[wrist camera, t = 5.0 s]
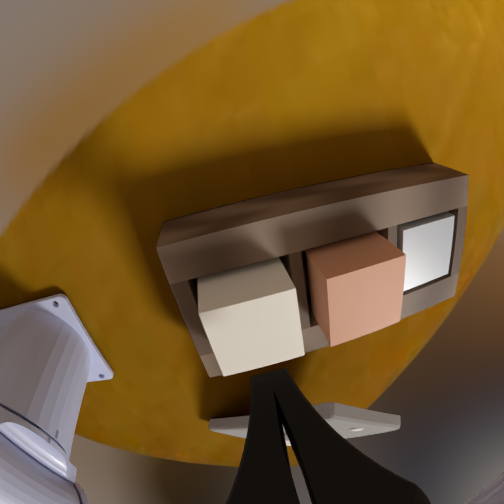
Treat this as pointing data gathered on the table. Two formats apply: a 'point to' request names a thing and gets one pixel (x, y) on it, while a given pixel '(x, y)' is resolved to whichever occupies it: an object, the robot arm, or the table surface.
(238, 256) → the brown slotted tray
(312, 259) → the rust key
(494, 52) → the table surface
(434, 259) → the slate key
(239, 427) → the light switch
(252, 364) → the ivory key
